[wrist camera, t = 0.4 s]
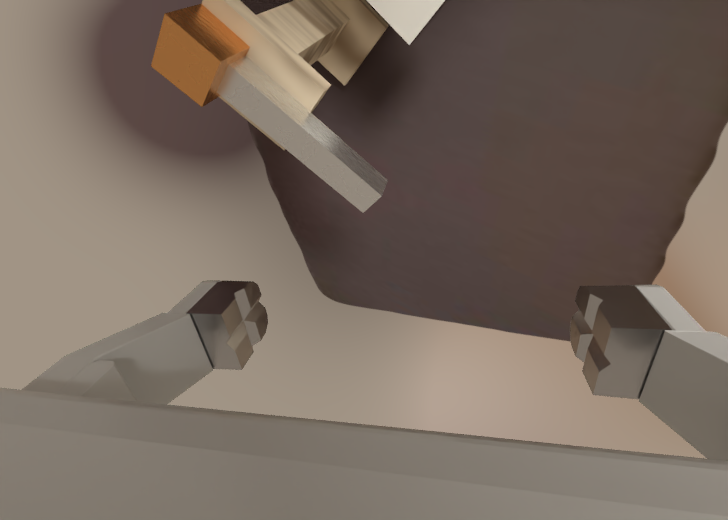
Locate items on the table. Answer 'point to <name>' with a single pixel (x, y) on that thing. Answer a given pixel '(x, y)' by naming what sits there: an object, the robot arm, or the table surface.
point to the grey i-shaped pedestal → (406, 15)
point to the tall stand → (304, 42)
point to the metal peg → (257, 99)
